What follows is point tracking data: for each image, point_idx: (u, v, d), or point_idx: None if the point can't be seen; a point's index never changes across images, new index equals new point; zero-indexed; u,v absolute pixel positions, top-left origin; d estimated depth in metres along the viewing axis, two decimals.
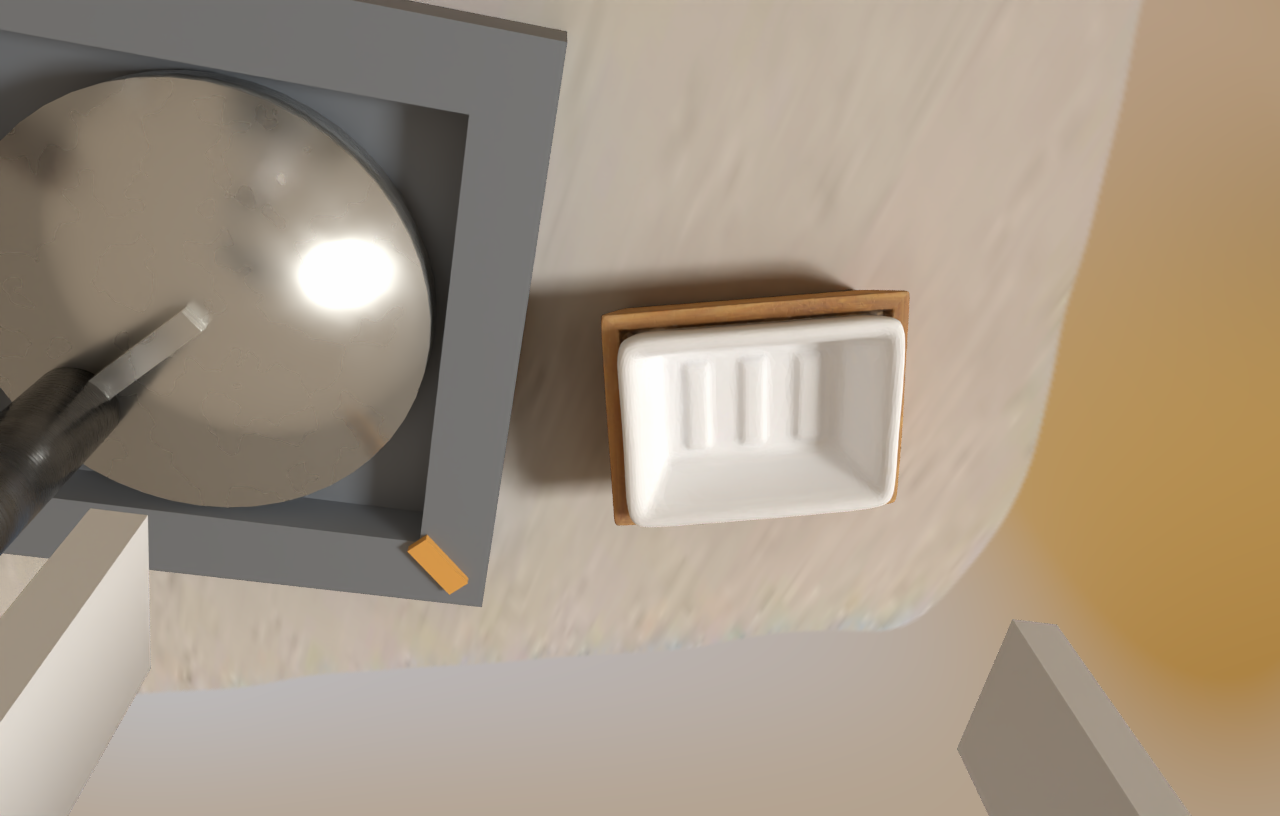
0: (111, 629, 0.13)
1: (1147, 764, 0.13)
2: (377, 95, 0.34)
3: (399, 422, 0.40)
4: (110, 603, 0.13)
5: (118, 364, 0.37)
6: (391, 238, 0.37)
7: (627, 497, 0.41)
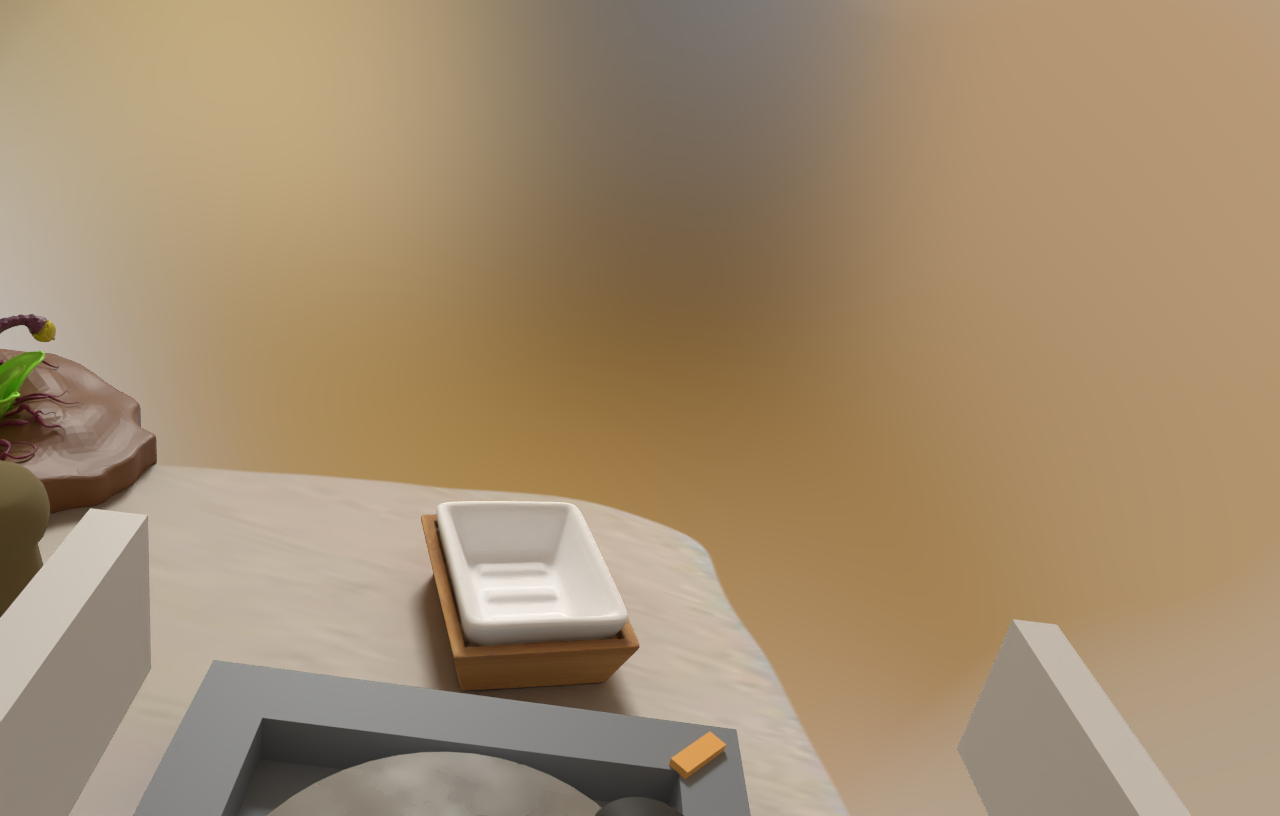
0: (111, 629, 0.13)
1: (1148, 765, 0.13)
2: (235, 775, 0.39)
3: (553, 778, 0.42)
4: (110, 603, 0.13)
5: None
6: (368, 774, 0.40)
7: (603, 623, 0.51)
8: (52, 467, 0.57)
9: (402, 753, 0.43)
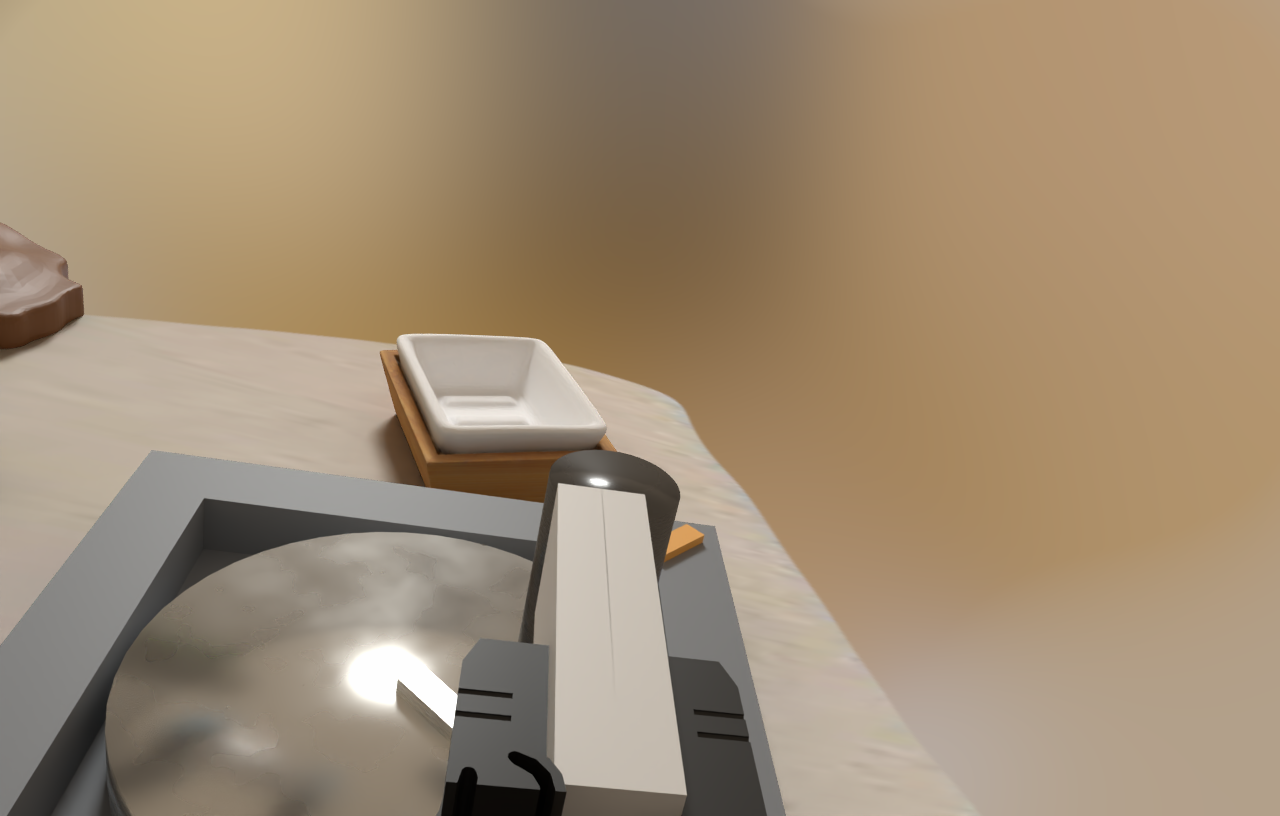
0: None
1: (657, 600, 0.14)
2: (172, 543, 0.36)
3: (520, 558, 0.39)
4: None
5: None
6: (320, 547, 0.37)
7: (581, 431, 0.49)
8: None
9: None
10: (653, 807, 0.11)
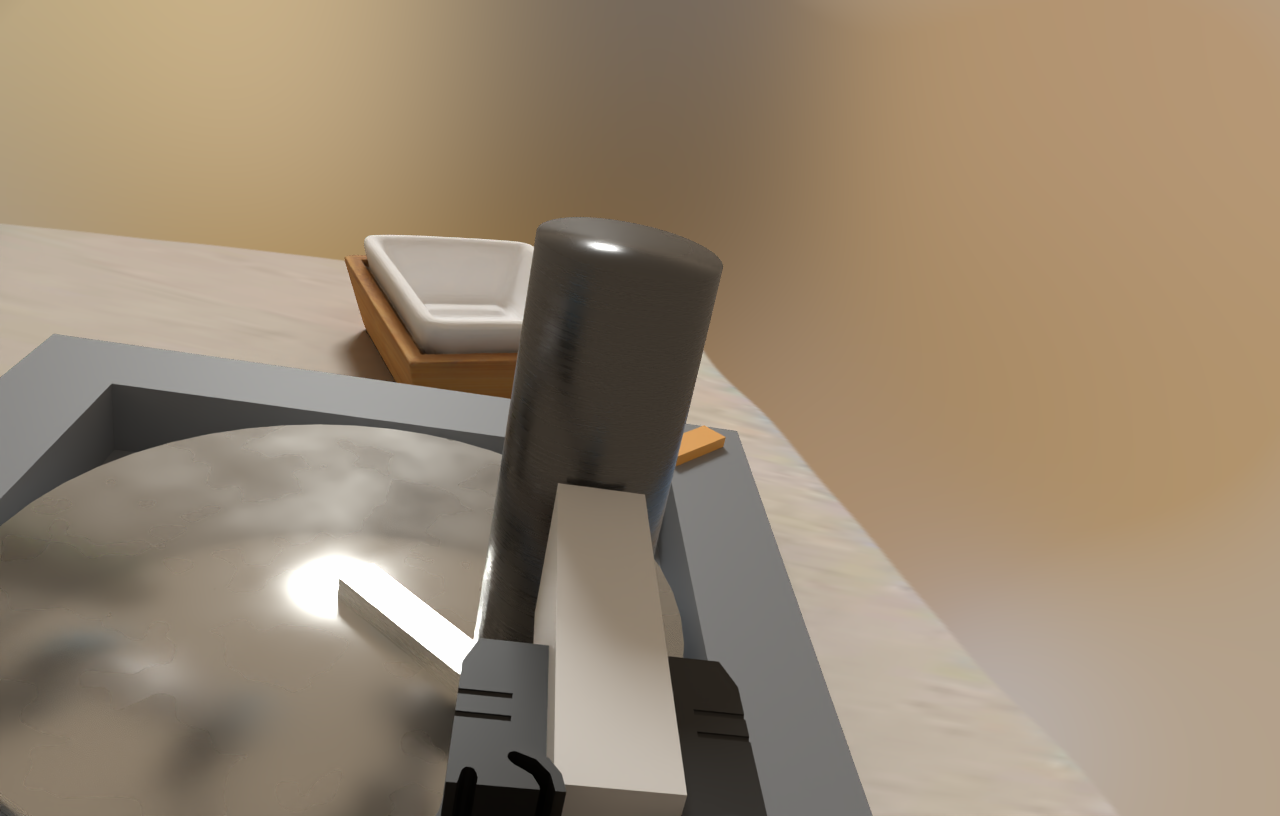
0: None
1: (657, 600, 0.14)
2: (64, 428, 0.29)
3: (496, 454, 0.32)
4: None
5: (436, 647, 0.22)
6: (245, 438, 0.30)
7: None
8: None
9: None
10: (654, 807, 0.11)
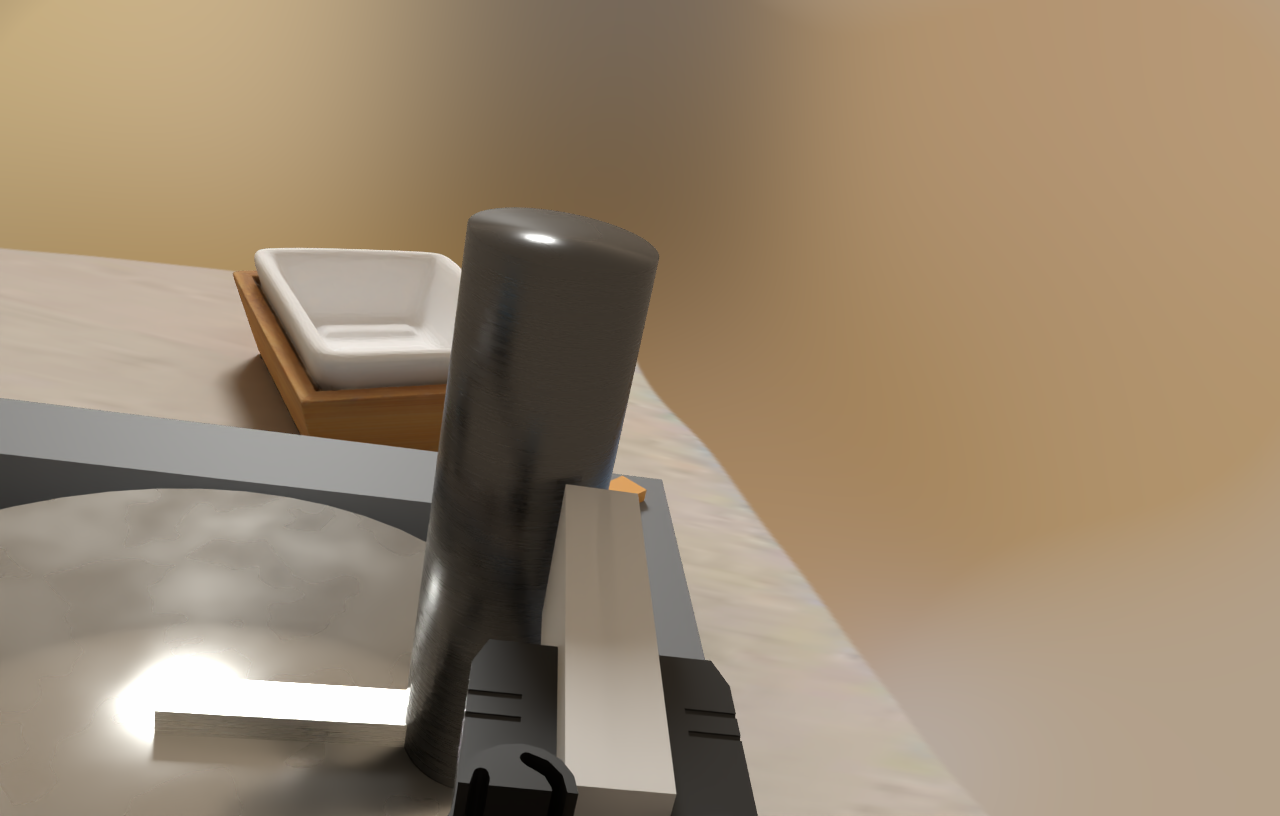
0: None
1: (649, 600, 0.14)
2: None
3: (121, 492, 0.26)
4: None
5: (336, 714, 0.20)
6: None
7: None
8: None
9: None
10: (643, 806, 0.11)
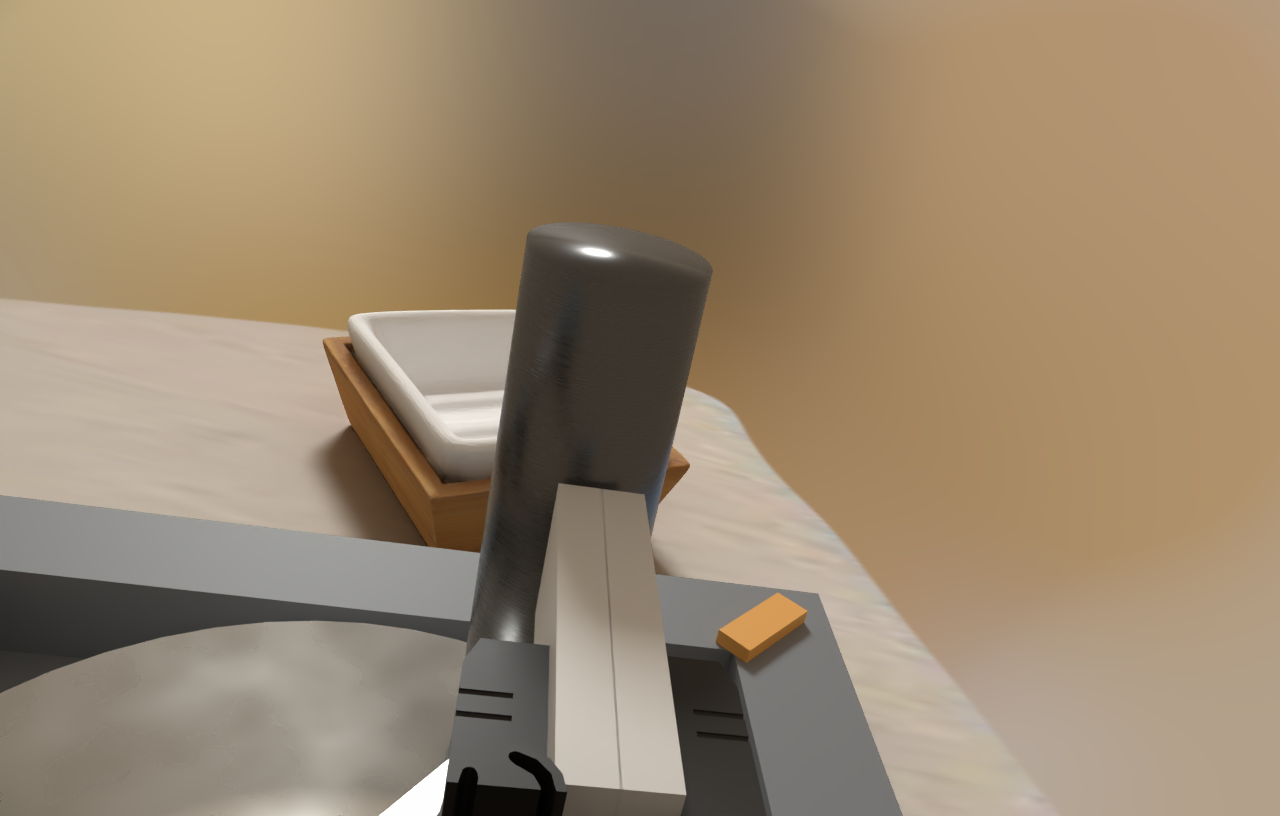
0: None
1: (656, 599, 0.14)
2: None
3: None
4: None
5: None
6: None
7: None
8: None
9: None
10: (653, 807, 0.11)
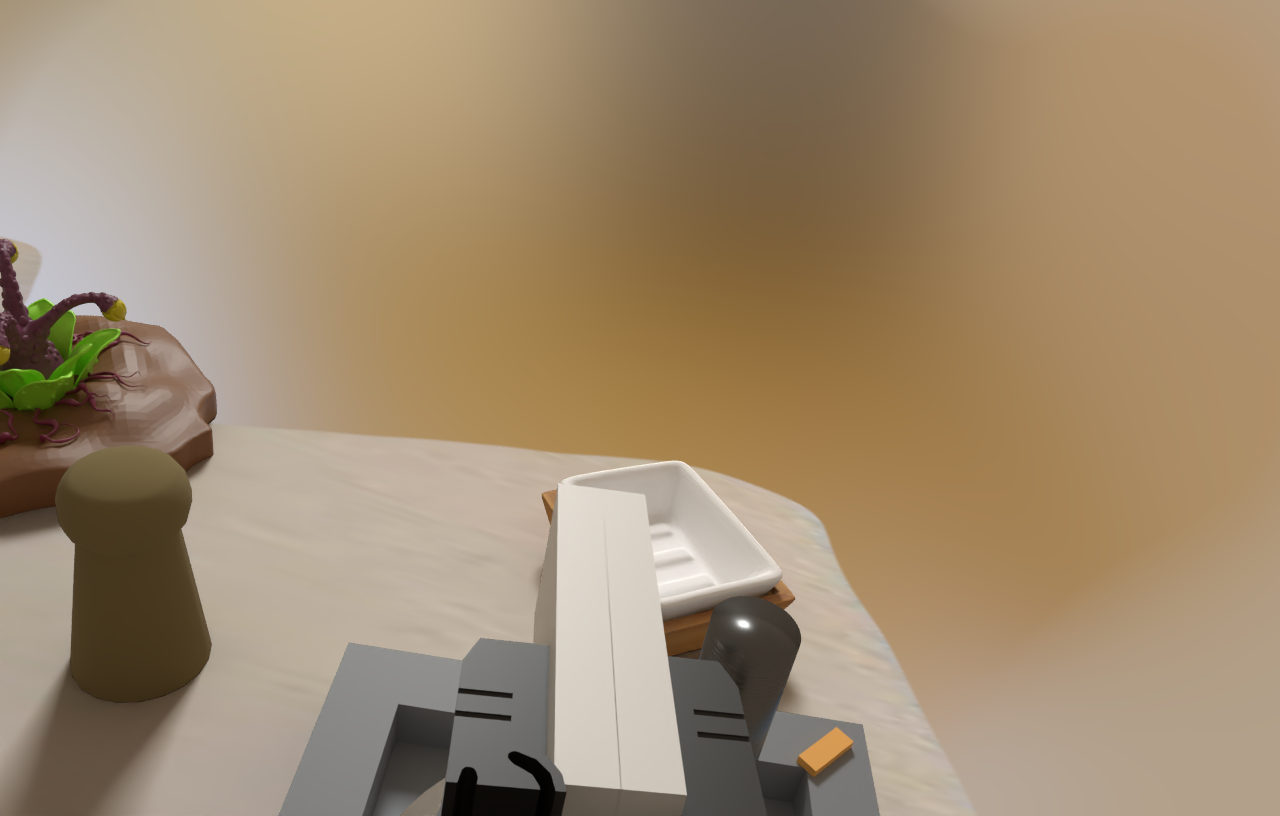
0: None
1: (658, 600, 0.14)
2: (376, 764, 0.40)
3: None
4: None
5: None
6: None
7: (764, 582, 0.53)
8: None
9: None
10: (654, 807, 0.11)
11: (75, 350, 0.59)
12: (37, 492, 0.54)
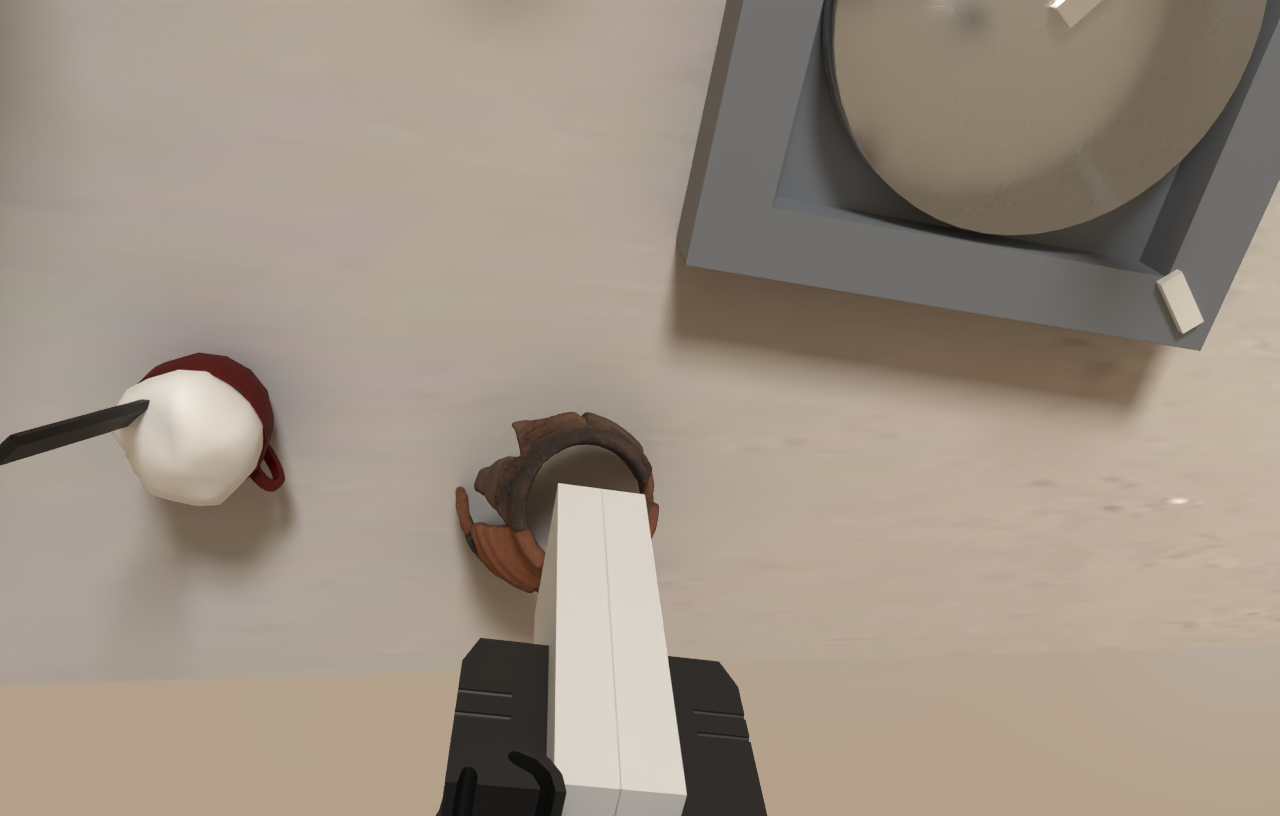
0: None
1: (657, 600, 0.14)
2: None
3: None
4: None
5: None
6: (868, 125, 0.40)
7: None
8: None
9: None
10: (654, 807, 0.11)
11: None
12: None
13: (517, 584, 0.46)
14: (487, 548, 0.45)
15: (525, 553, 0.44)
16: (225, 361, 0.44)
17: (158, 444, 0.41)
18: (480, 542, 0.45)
